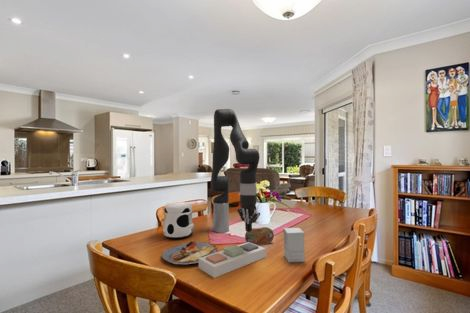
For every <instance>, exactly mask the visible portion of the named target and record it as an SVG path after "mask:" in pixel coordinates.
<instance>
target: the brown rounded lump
mask: <svg viewBox="0 0 470 313" xmlns="http://www.w3.org/2000/svg"><path fill="white" fill-rule="evenodd" d="M274 234H275V233H274V231H273V230H272V229H271V228H270V227H268V226H267V227H266V226H263V227H261V226H260V227H252V230H251V232H247V231H245V234H244V239H245V243H247V242H250V243H252V244H255V245H258V246H263V245H269V244H271V243H272V242H273V240H274V237H275V236H274Z"/></svg>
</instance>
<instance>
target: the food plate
mask: <svg viewBox="0 0 470 313" xmlns="http://www.w3.org/2000/svg"><path fill="white" fill-rule="evenodd" d="M216 252H218V248H217V246H216V245H215V244H211V243H208V242H201V241H189V242H186V243H180V244H176V245H174V246H172V247H170V248H166V249H165V250H164V251H163V252H162V254H161V258H162V259H163V260H165V261H166V262H168V263H170V264H171V263H172V264H174V265H186V266H187V265H190V264H197V263H198V264H199V260H198V258H201V257H204V256H207V255H210V254H213V253H216Z"/></svg>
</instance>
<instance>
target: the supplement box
mask: <svg viewBox="0 0 470 313" xmlns="http://www.w3.org/2000/svg"><path fill="white" fill-rule="evenodd" d="M305 248H306V246H305V232H304V231H303V230H302V228H300V227H284V228H283V252H284V253H283V255H284V258H285V259H286V261H287V262H288V263H300V262H301V263H303V262H305V260H306V258H305V255H306V254H305V251H306V249H305Z"/></svg>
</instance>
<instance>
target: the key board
mask: <svg viewBox="0 0 470 313" xmlns="http://www.w3.org/2000/svg"><path fill="white" fill-rule="evenodd" d="M247 243H250V242H245V243H241V244H238V245H237V246H238V247H239V246H241V245H244V244H247ZM251 244H252V243H251ZM253 245H255V244H253ZM256 246H258V249H255V250H252V251H250V252H248V251H245V250H243V254H241V255H239V256H236V257H233V258H232V257H230V256H228V255H226V254H224V249H223V250H220V251H217V252H216V253H213V254H217V253H219V254H221V255H223V256H225V257H227V260H225V261H222V262H219V263H216V264H213V263H211V262H210V261H208V260H206V257H207V256H210V255H213V254H210V255H207V256H204V257H201V258H198V260H199V263H198V269H199V270H201V271H203V272H204V273H206V274H208V275H209V276H210V277H212V278H213V279H215V278H218V277H220V276H223V275H225V274H228V273H230V272H233V271H235V270H237V269H240V268H243V267H246V266H247V265H249V264H252V263H254V262H255V263H256V262H257V261H260V260H263V259H265V258H266V257H267V256H266V252H267V251H266V247H263V246H261V245H256Z"/></svg>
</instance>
